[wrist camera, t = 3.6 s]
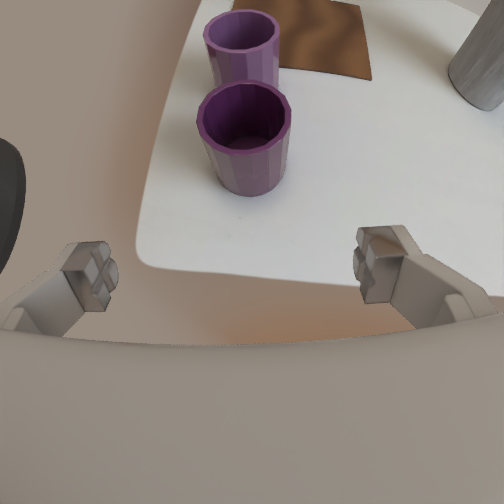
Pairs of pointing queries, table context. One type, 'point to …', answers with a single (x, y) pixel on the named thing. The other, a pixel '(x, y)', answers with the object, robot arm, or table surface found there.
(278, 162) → the plum cup
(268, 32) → the mauve cup
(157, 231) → the table surface
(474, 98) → the vase
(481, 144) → the table surface
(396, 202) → the table surface
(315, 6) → the placemat
